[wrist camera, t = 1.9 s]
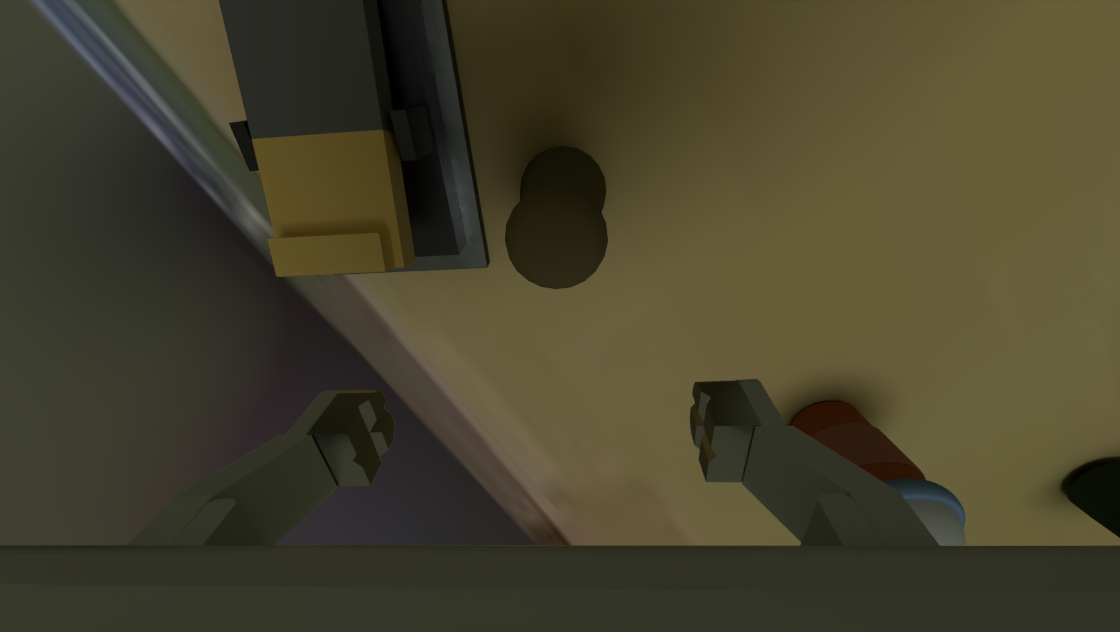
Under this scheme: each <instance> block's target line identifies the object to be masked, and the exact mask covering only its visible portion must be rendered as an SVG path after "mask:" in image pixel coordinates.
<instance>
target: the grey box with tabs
mask: <svg viewBox="0 0 1120 632" xmlns="http://www.w3.org/2000/svg"><path fill="white" fill-rule="evenodd" d="M377 6H378V13H379V20H380V26H381V33H382V40H383V46H384V53H385V60H386V67H387V73H388V80H389V87H390V93H391V100H392V107H393V110H392V111H390V115H391V119H392V123H393V127H394V131H395V135H396V139H397V143H398V147H399V154H400V160H401V167H402V174H403V181H404V187H405V194H406V201H407V207H408V214H409V221H410V228H411V234H412V241H413V248H414V254H415V261H416V263H415V264H412V265H410V266H407V267H404V268H394V269H391V270H389V271H386V272H404V271H426V270H447V269H469V268H487V267H488V265H489V263H490V261H489V255H488V249H487V243H486V237H485V231H484V225H483V219H482V213H481V207H480V201H479V195H478V189H477V183H476V177H475V171H474V165H473V159H472V153H471V147H470V141H469V135H468V129H467V123H466V117H465V111H464V105H463V99H462V93H461V87H460V81H459V75H458V69H457V63H456V57H455V51H454V45H453V39H452V33H451V27H450V21H449V15H448V10H447V4H446V0H377ZM229 124H230V127H231V129H232V131H233V134H234V136H235V138H236V141H237V143H238V145H239V148H240V150H241V152H242V154H243V157H244V159H245V161H246V164H247V166H248V168H249V171H258V170H259V168H258V164H257V159H256V155H255V151H254V147H253V142H252V138H251V134H250V130H249V125H248V121H247V120H245V121H239V122H232V123H229ZM366 273H383V272H366ZM345 274H361V273H345ZM334 275H340V274H334Z"/></svg>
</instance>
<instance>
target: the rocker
mask: <svg viewBox="0 0 1120 632" xmlns="http://www.w3.org/2000/svg"><path fill="white" fill-rule="evenodd" d="M219 3H220V7H221V11H222V15H223V20H224V24H225V28H226V32H227V37H228V41H229V45H230V49H231V53H232V58H233V62H234V66H235V70H236V75H237V79H238V83H239V87H240V92H241V96H242V100H243V104H244V109H245V113H246V117H247V121H248V125H249V130H250V134H251V138H252V142H253V147H254V151H255V155H256V159H257V164H258V168H259V172H260V176H261V180H262V185H263V189H264V193H265V197H266V202H267V206H268V210H269V214H270V219H271V223H272V227H273V231H274V236H275V238H269V239H268V243H269V247H270V251H271V256H272V260H273V264H274V268H275V272H276V276H277V277H279V276H280V277H281V276H302V275H324V274H345V273H366V272H386V271H389V270H391V269H394V268H404V267H407V266H410V265H412V264H415V263H416V261H415V254H414V248H413V241H412V234H411V228H410V221H409V214H408V207H407V201H406V194H405V187H404V181H403V174H402V167H401V160H400V154H399V147H398V143H397V139H396V135H395V131H394V127H393V123H392V119H391V115H390V111H392V110H393V107H392V100H391V93H390V87H389V80H388V73H387V67H386V60H385V53H384V46H383V40H382V33H381V26H380V20H379V13H378V6H377V0H219Z"/></svg>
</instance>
